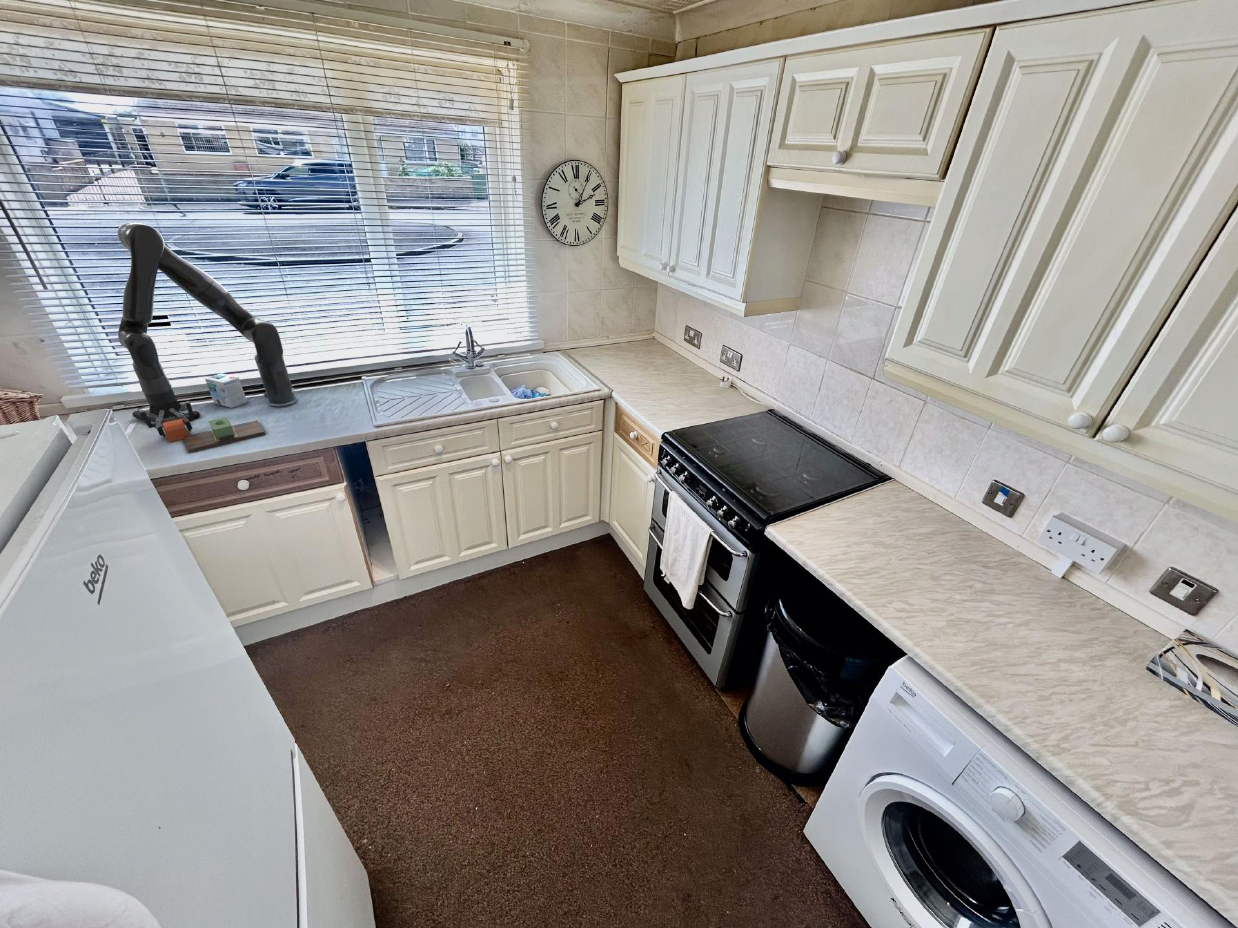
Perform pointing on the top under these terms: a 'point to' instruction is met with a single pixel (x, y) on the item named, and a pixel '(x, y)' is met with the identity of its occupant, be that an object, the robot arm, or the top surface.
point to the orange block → (175, 430)
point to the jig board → (209, 440)
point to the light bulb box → (226, 390)
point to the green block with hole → (221, 427)
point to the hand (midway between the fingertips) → (177, 433)
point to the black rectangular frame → (153, 418)
